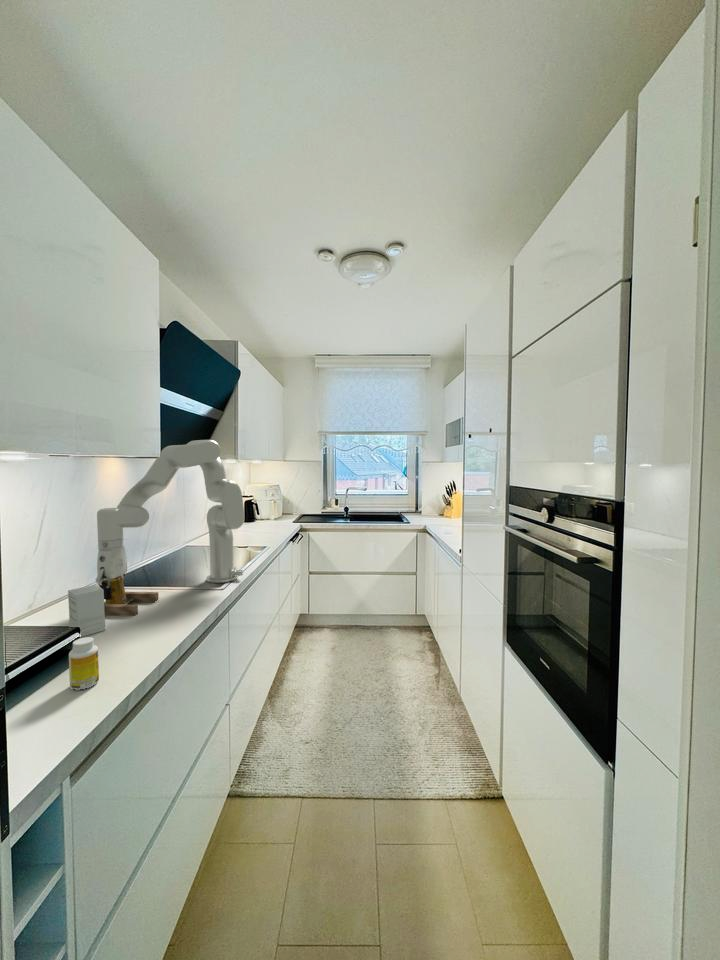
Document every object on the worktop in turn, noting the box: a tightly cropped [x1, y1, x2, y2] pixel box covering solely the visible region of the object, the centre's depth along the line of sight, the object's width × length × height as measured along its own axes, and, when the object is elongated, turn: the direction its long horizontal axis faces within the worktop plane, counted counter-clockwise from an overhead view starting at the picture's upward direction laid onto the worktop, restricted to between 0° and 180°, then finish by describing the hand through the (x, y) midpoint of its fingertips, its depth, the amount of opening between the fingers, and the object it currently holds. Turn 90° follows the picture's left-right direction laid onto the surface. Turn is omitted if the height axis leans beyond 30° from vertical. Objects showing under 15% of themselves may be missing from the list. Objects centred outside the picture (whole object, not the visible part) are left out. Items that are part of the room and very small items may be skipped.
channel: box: [104, 591, 159, 617], centre depth 146 cm, size 18×15×3 cm
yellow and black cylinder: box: [105, 576, 134, 604], centre depth 147 cm, size 7×8×12 cm
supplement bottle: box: [68, 636, 100, 691], centre depth 96 cm, size 6×6×10 cm
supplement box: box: [67, 584, 106, 638], centre depth 125 cm, size 7×7×13 cm
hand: (112, 595), depth 146 cm, fingers closed on yellow and black cylinder, 6 cm apart
